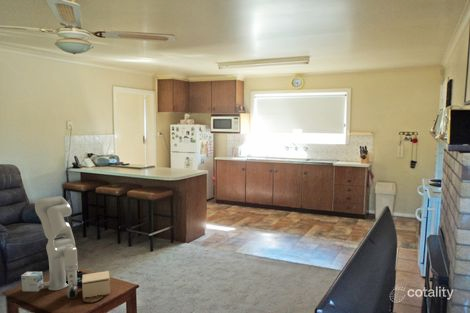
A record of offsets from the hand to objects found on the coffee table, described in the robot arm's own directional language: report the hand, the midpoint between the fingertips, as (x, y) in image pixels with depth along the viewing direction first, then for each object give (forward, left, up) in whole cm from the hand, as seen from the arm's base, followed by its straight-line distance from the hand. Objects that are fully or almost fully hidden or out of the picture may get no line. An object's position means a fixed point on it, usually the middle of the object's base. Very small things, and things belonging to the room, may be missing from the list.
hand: (72, 293), depth 226 cm
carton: (+14, 0, -1) cm, 14 cm away
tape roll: (0, 0, -1) cm, 1 cm away
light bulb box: (-25, +20, -1) cm, 32 cm away
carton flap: (+14, 0, +8) cm, 16 cm away
